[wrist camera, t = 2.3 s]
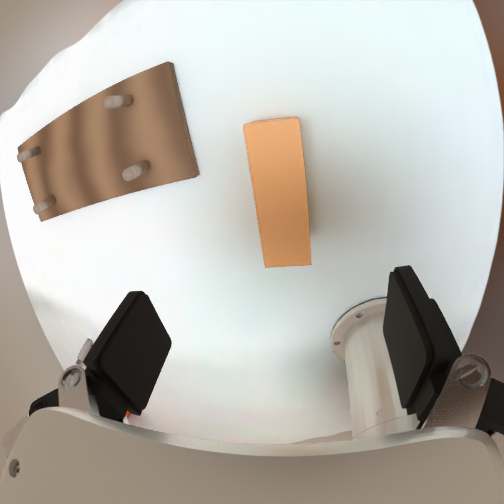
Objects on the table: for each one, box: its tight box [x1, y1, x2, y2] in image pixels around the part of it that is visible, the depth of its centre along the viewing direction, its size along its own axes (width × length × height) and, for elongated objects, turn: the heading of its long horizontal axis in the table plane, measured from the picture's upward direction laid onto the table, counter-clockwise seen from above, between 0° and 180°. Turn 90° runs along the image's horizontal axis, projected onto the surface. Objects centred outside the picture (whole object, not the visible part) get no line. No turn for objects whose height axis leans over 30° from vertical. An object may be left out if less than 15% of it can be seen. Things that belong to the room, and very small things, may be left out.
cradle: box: [17, 62, 199, 222], centre depth 24 cm, size 26×12×5 cm, turn 101°
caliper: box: [76, 340, 93, 369], centre depth 47 cm, size 20×1×6 cm, turn 164°
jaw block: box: [243, 117, 311, 268], centre depth 23 cm, size 4×12×6 cm, turn 8°
